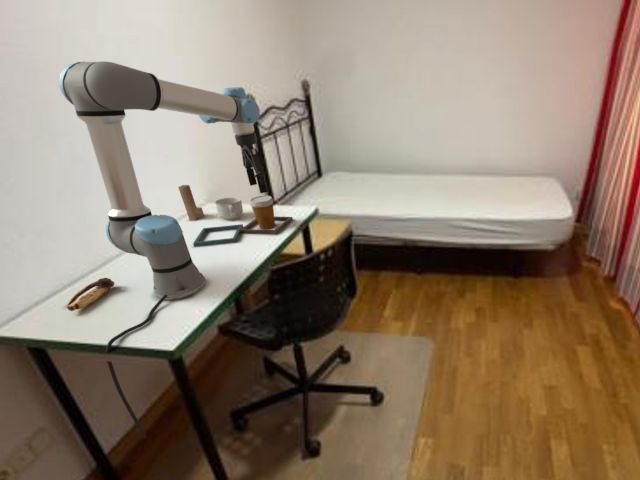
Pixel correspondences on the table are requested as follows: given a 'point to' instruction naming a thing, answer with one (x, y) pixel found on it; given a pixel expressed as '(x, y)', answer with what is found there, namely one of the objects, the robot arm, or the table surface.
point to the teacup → (229, 208)
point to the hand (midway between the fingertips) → (258, 188)
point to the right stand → (256, 231)
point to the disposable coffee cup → (263, 211)
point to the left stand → (220, 241)
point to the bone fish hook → (90, 294)
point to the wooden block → (190, 203)
